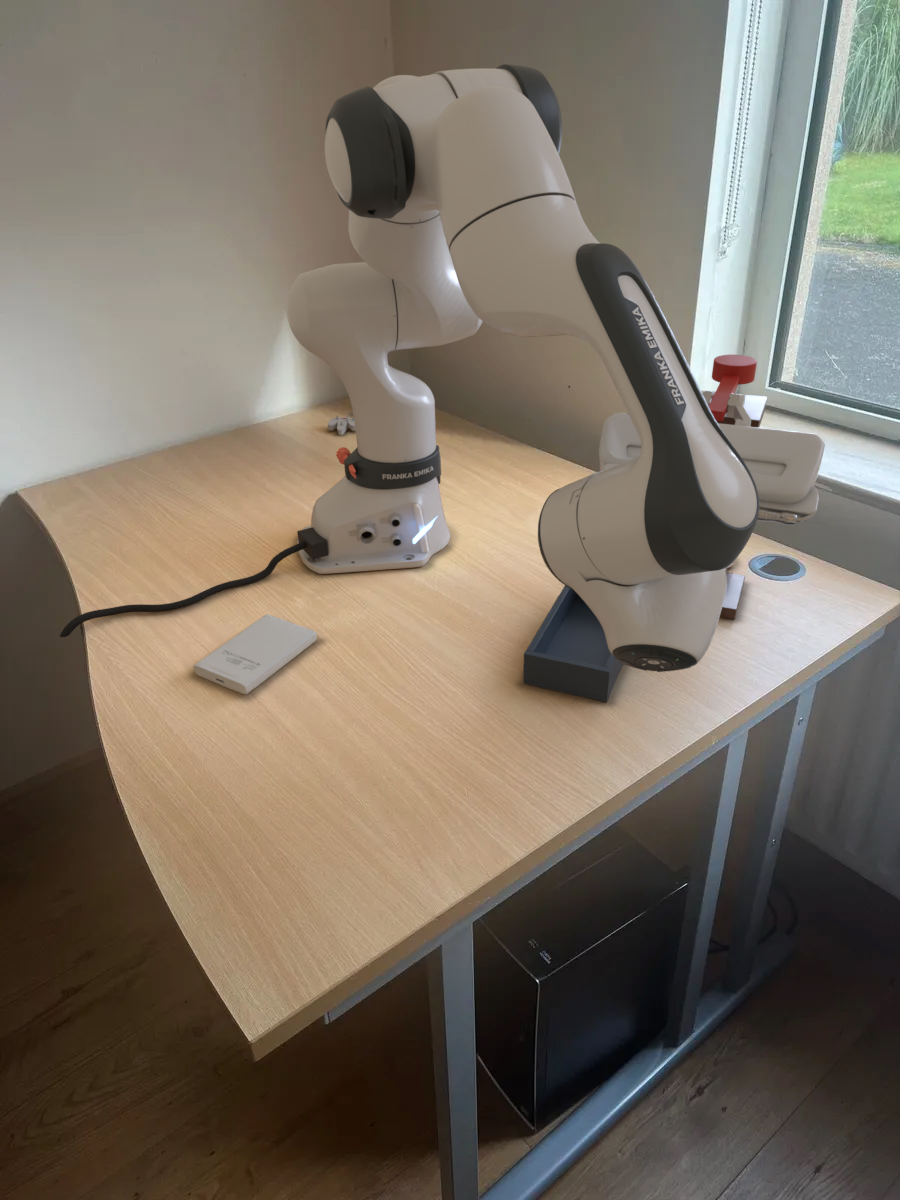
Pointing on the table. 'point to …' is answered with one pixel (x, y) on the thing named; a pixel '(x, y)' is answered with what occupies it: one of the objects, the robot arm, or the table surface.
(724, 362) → the red lever with knob
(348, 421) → the game controller
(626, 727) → the table surface
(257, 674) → the hard drive
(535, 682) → the bin
